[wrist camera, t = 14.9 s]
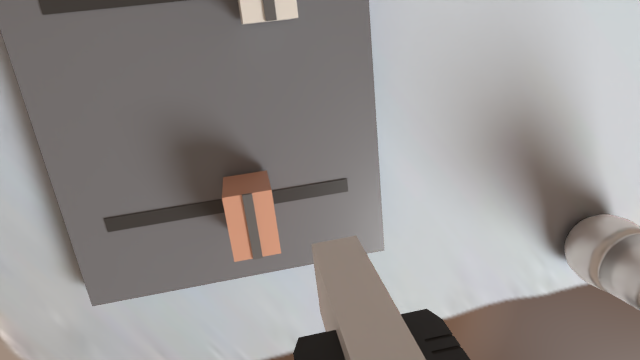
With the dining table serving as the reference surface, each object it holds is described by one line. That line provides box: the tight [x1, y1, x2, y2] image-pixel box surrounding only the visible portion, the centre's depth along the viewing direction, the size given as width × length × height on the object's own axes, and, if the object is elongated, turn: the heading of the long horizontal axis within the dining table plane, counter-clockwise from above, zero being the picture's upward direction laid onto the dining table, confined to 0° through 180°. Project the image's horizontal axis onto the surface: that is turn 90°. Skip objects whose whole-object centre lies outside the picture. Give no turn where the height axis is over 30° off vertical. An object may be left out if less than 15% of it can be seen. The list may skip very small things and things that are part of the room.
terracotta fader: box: [222, 170, 281, 262], centre depth 29 cm, size 4×3×4 cm
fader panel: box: [0, 0, 384, 306], centre depth 30 cm, size 26×22×2 cm
